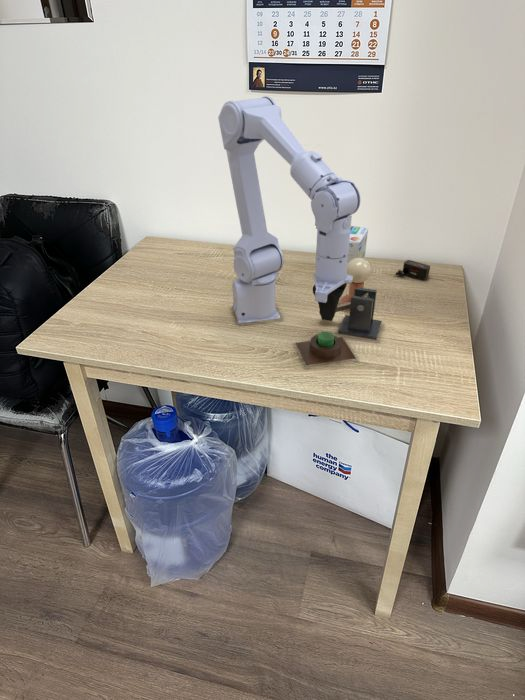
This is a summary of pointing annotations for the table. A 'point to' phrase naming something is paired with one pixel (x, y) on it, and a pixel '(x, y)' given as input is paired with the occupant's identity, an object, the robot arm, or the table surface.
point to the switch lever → (347, 305)
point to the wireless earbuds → (415, 270)
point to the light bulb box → (357, 242)
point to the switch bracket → (361, 316)
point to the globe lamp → (356, 276)
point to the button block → (324, 351)
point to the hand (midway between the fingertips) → (327, 318)
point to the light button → (325, 339)
